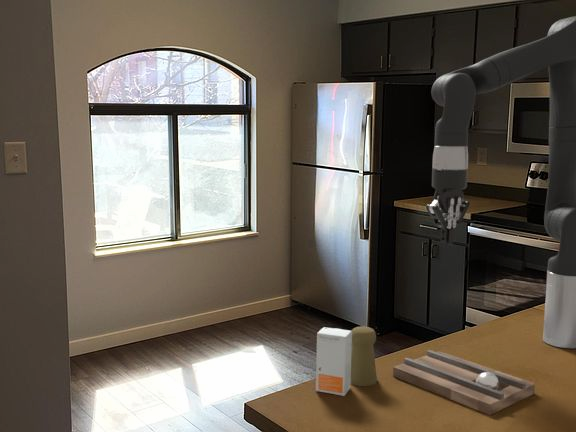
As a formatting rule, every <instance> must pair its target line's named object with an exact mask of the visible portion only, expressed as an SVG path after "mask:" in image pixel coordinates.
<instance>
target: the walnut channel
mask: <svg viewBox="0 0 576 432" xmlns="http://www.w3.org/2000/svg"><path fill="white" fill-rule="evenodd" d="M483 372H490V373H493V374H494V375H495V376H496V377H497V378H498V380H499V389H498V391H497V390H494V389H491V388H489V387H486V386H483V385H481V384H478V383H475V382H476V378H477V376H478V375H479V374H481V373H483ZM392 376H393V377H395V378H397V379H400V380H402V381H405V382H406V383H409V384H412V385H414V386H417V387H419V388H421V389H424V390H427V391H429V392H431V393H434V394H437V395H439V396H441V397H445V398H447V399H448V400H451V401H454V402H456V403H459V404H461V405H463V406H466V407H469V408H471V409H474V410H476V411H479V412H480V413H483V414H485V415H488V416H491V415H493V414H494V413H497V412H499V411H501V410H503V409H506V408H507V407H511V406H512V405H514V404H516V403H518V402H520V401H522V400H524V399H526V398H529V397H530V396H532V395H534V394H535V391H536V383H534V382H531V381H529V380H525V379H524V378H523V379H522V378H520V377H517V376H514V375H511V374H509V373H505V372H502V371H499V370H496V369H493V368H491V367H488V366H485V365H481V364H479V363H475V362H473V361H469V360H466V359H464V358H461V357H459V356H455V355H452V354H449V353H446V352H443V351H440V350H438V351H434V350H432V349H428V350H426V355H424V356H421V357H418V358H414V359H412V358H409V357H405V358H403V363H401V364H398V365H395V366H393V368H392Z"/></svg>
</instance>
